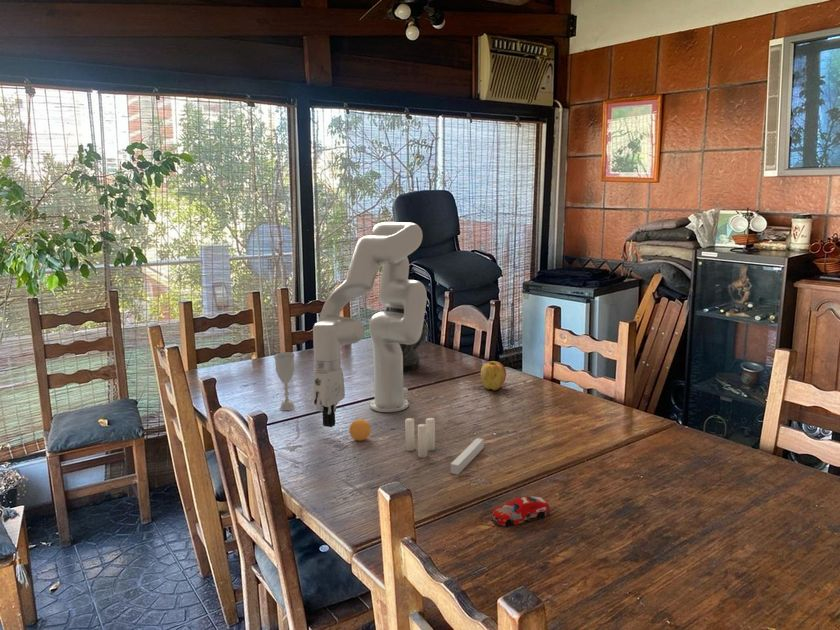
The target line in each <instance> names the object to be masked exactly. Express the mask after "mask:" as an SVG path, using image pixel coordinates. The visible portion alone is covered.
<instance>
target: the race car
mask: <svg viewBox="0 0 840 630" xmlns="http://www.w3.org/2000/svg"><path fill="white" fill-rule="evenodd" d="M550 511H551V509H550V505H549V502H548V501H547V500H546V499H544V498H543V497H541V496H540V497H539V496H532V495H530V496H522V497H517V498H514V499H513V500H510V501H509V500H507V503H506V504H503V505H501V506H498V507H496V508H495V509H494V510H493V512H492V518H491V519H492V520H493V522H494V523H495V524H496V525H498V526H502V527H506V528H508V527H513V525H519V524H523V523H526V522H531V521H535V520H539V519H544V517H547V516H548V515H549V514H550Z"/></svg>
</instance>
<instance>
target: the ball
mask: <svg viewBox="0 0 840 630" xmlns="http://www.w3.org/2000/svg"><path fill="white" fill-rule="evenodd" d="M349 434H350V436H351V438H352V439H354V440H355V441H359V442H360V441H365V440H366V439H367V438H369V436H370V434H371V425H370V424H369V422H368V421H367V420H365V419H361V418H359V419H355V420H353V422H351V424H350V425H349Z"/></svg>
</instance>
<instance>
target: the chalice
mask: <svg viewBox="0 0 840 630" xmlns="http://www.w3.org/2000/svg"><path fill="white" fill-rule="evenodd" d="M295 356H296V353H294V352H289V351H287V352H286V351H285V352H279V353H275V354H274V355H273V358H274V362H275V371H276V374H277V377H278V378H279V380H280V383H282V384H284V388H283V390H284V393H283V395H284V398H285V399H284V400H283V401H282V402H281V403H280V404H281V405H280V407H279V410H280V409H281V410H280V411H282V410H289V411H292V409H293V410H294V409H296V406H295V405H294V401H292V400H290V399H289V395H290V393H289V390H290V388H289V387H288V384H289V383H290V382H291V380H292V378H293V375H294V371H295V361H294V359H295Z"/></svg>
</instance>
